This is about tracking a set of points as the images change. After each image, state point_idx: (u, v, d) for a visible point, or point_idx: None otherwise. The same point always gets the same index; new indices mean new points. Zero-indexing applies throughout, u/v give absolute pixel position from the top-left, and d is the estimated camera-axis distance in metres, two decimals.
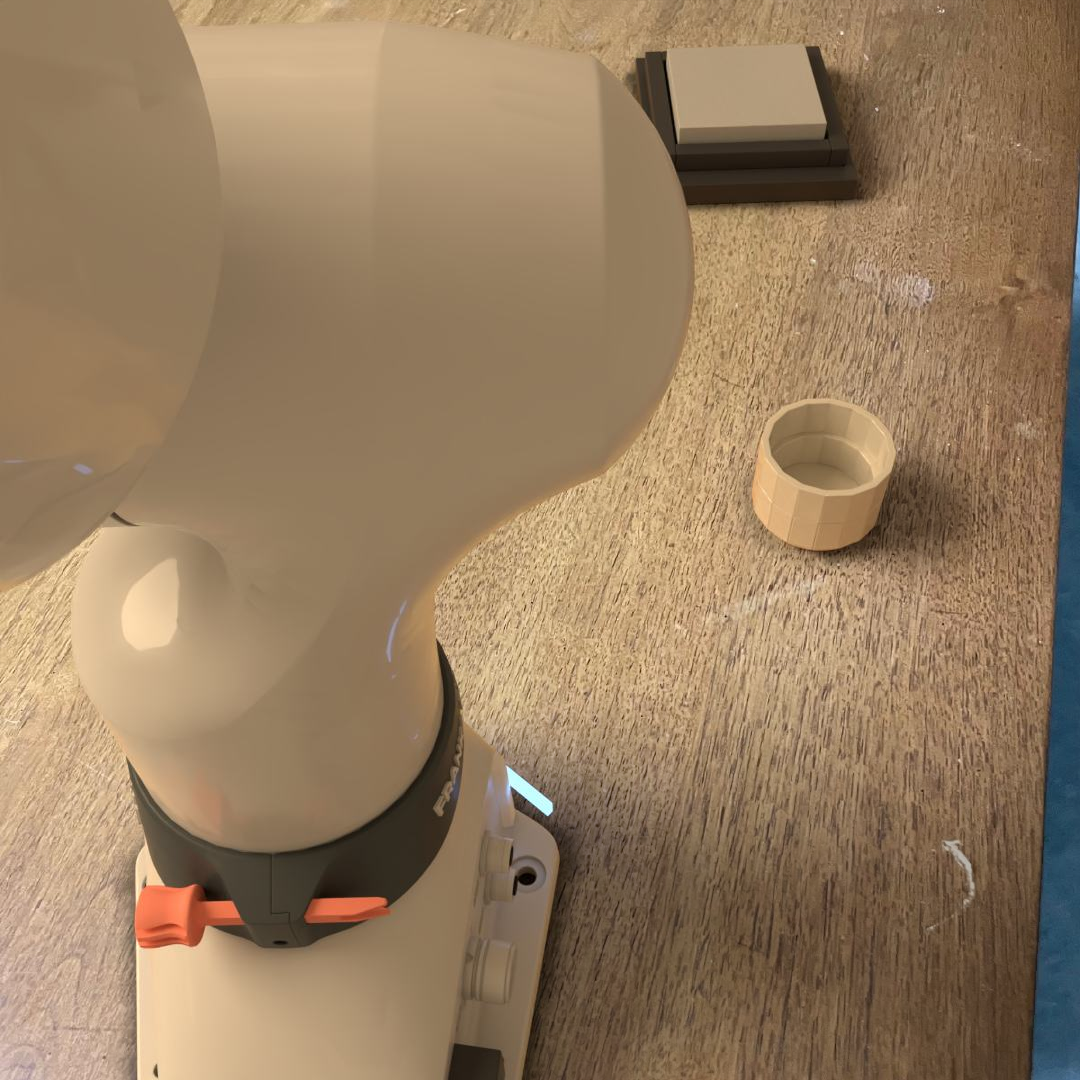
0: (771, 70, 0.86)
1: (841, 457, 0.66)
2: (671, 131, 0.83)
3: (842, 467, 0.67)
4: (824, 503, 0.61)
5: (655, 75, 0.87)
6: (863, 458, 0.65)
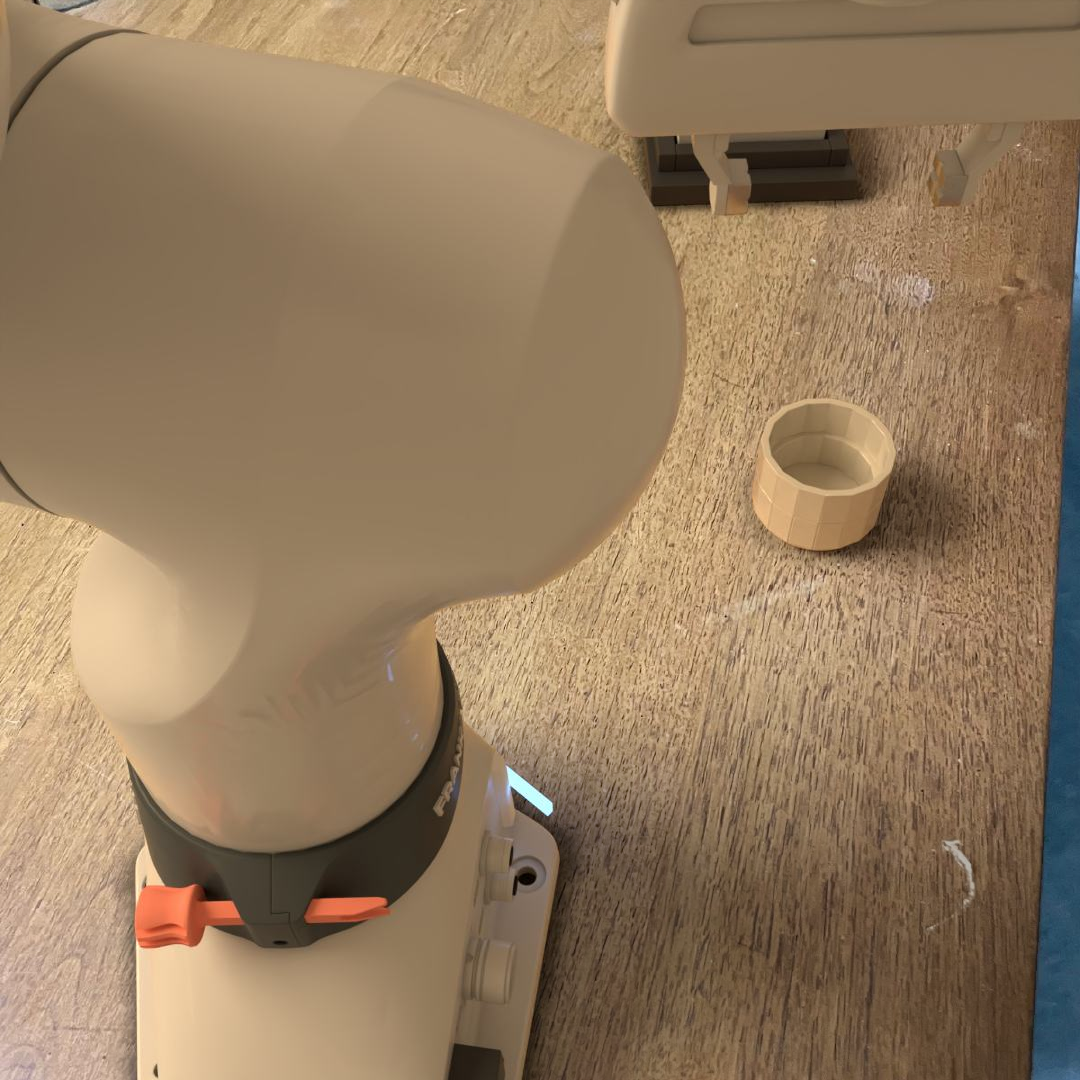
0: None
1: (841, 457, 0.66)
2: None
3: (842, 467, 0.67)
4: (824, 503, 0.61)
5: None
6: (863, 458, 0.65)
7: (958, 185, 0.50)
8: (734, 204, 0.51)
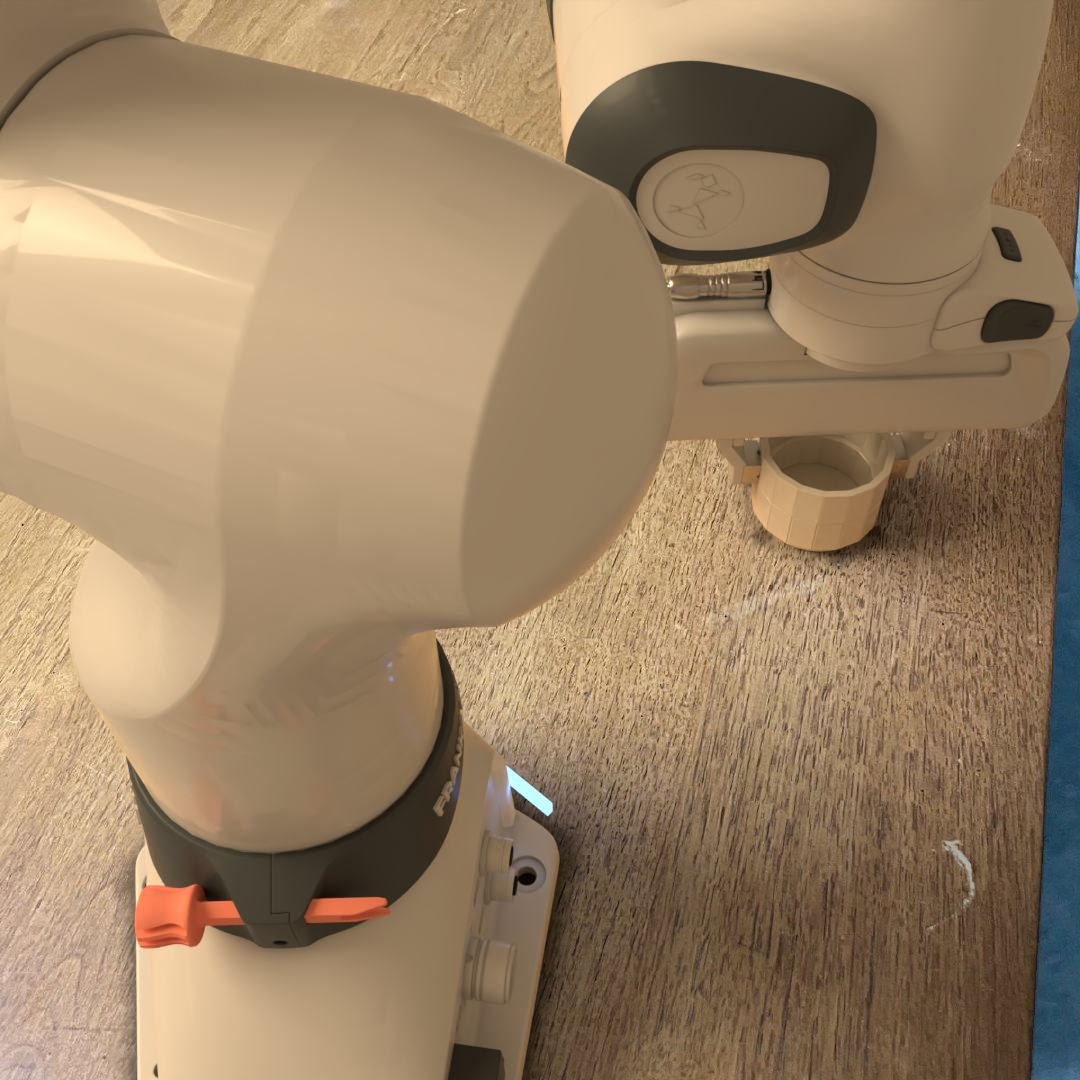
0: None
1: (840, 458, 0.66)
2: None
3: (841, 468, 0.67)
4: (823, 504, 0.61)
5: None
6: (862, 459, 0.65)
7: (902, 466, 0.63)
8: (748, 478, 0.63)
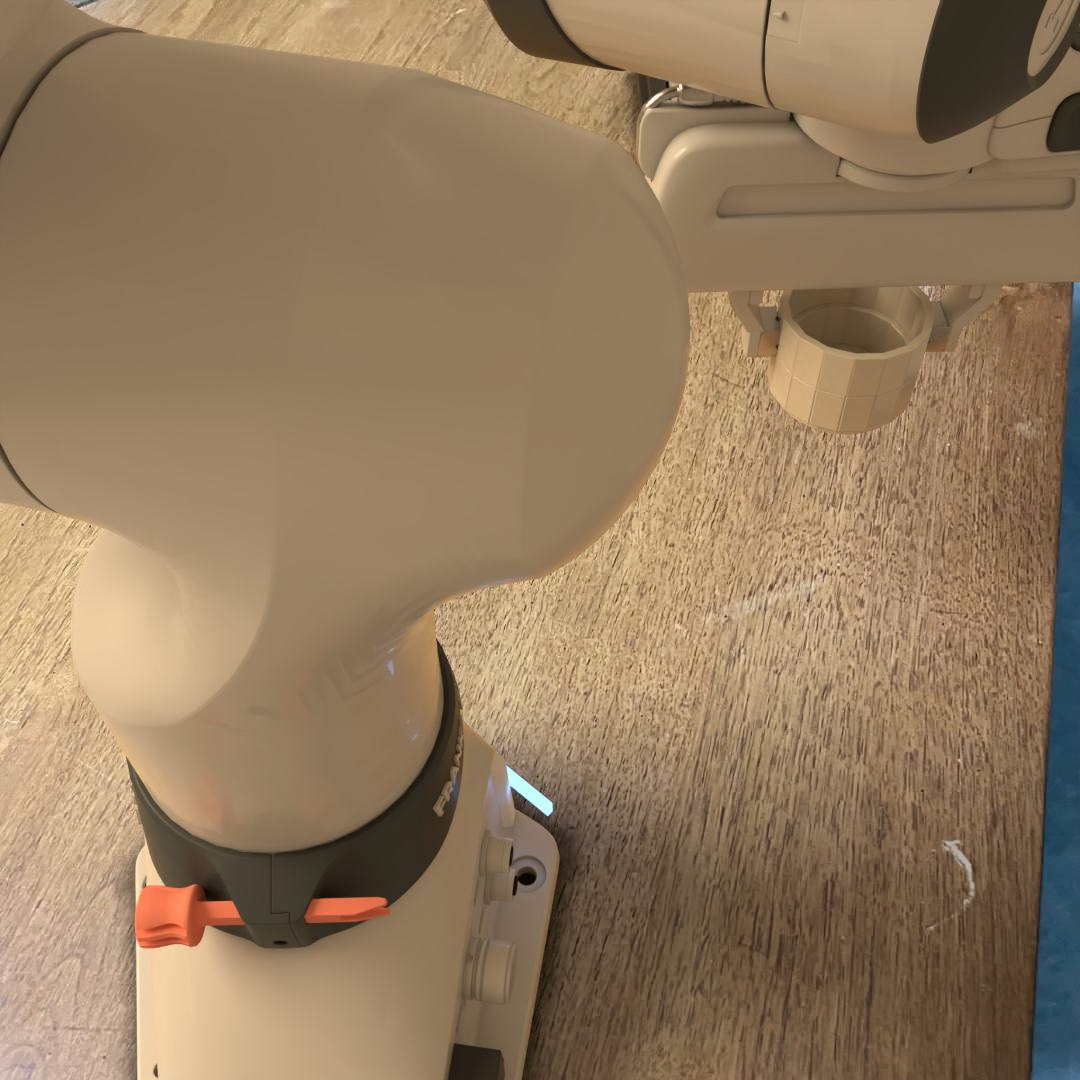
0: None
1: (869, 334, 0.58)
2: None
3: (869, 346, 0.59)
4: (853, 370, 0.53)
5: None
6: (895, 331, 0.57)
7: (942, 334, 0.55)
8: (765, 348, 0.55)
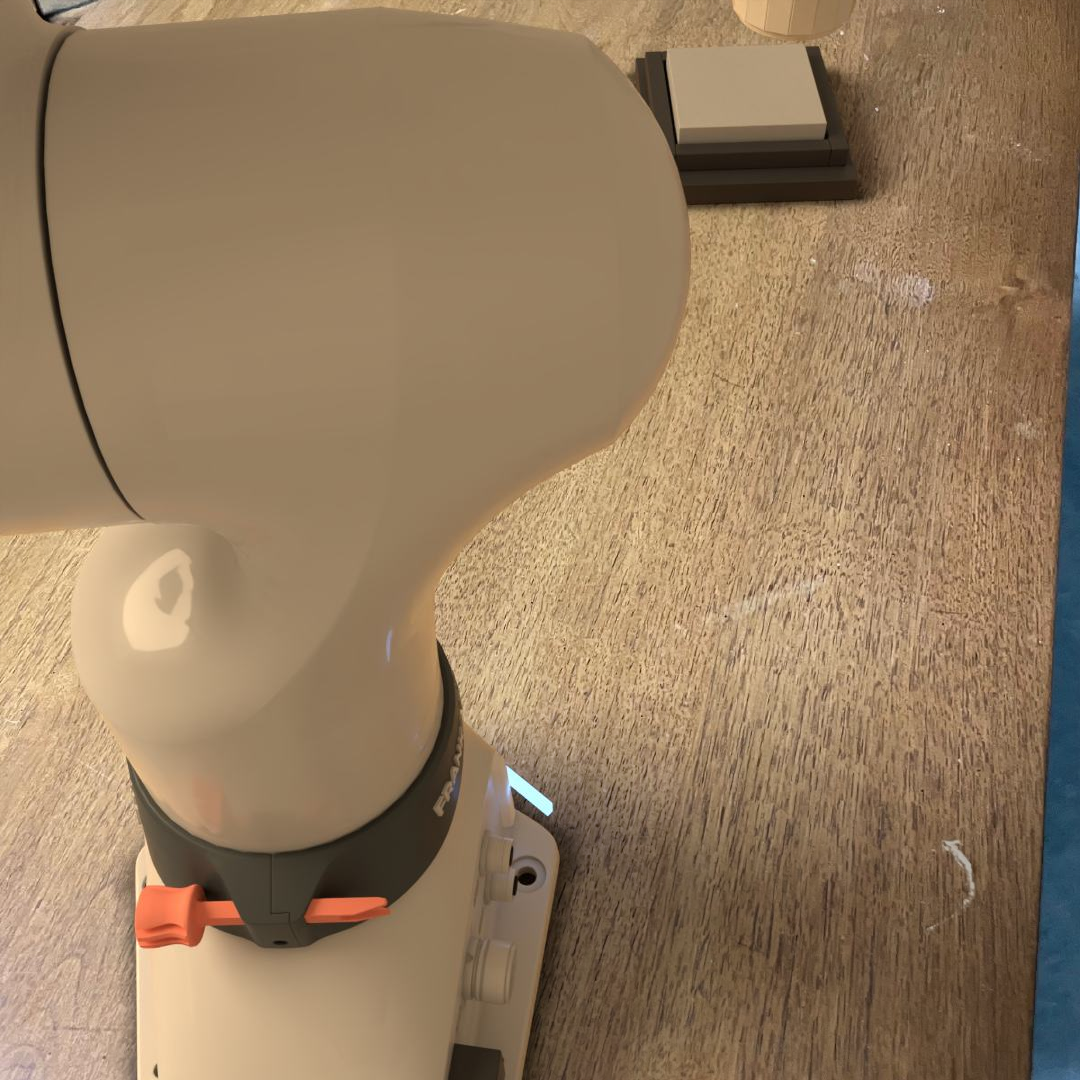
0: (771, 70, 0.86)
1: None
2: (671, 131, 0.83)
3: None
4: None
5: (655, 75, 0.87)
6: None
7: None
8: None
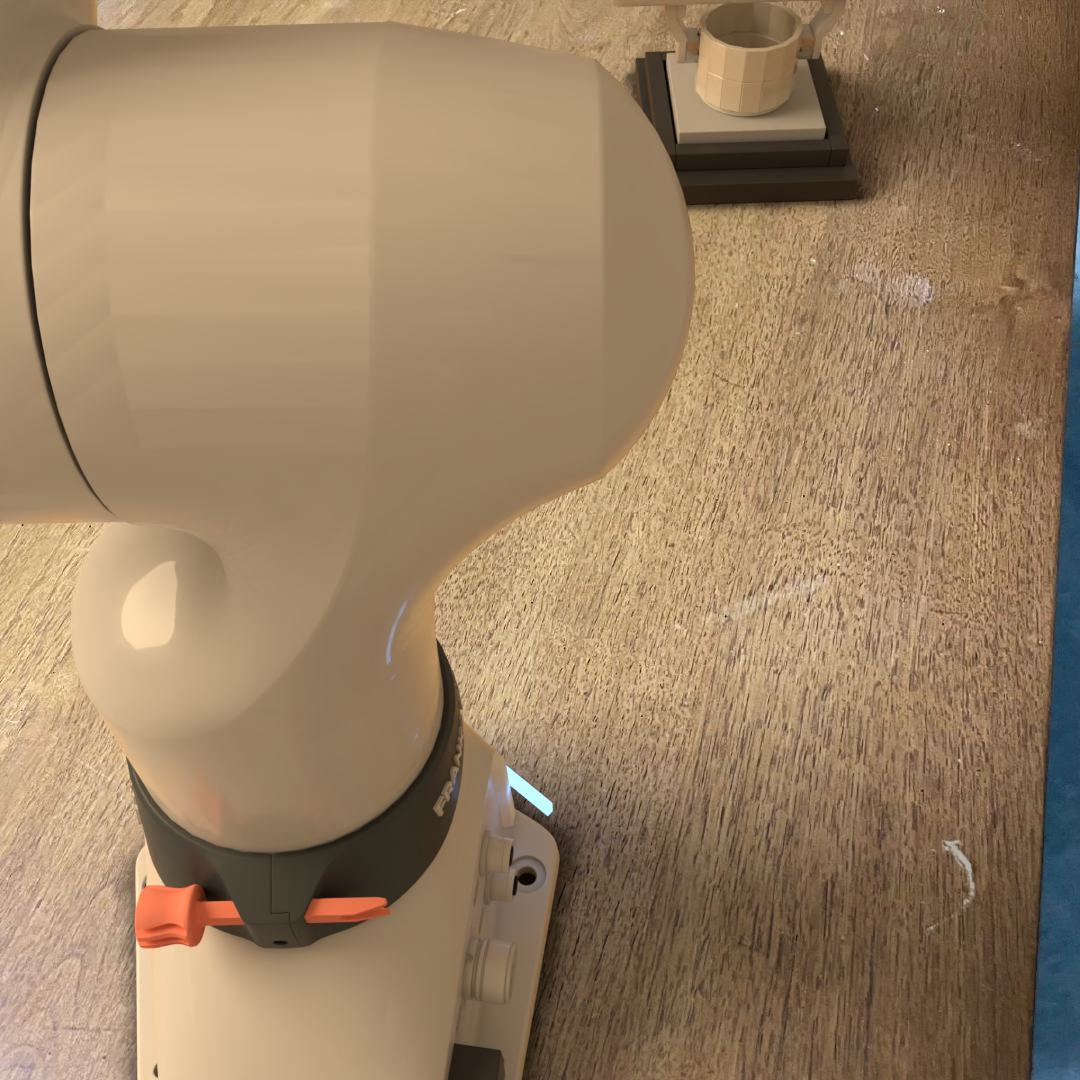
0: None
1: None
2: (671, 131, 0.83)
3: None
4: (745, 60, 0.79)
5: (655, 75, 0.87)
6: None
7: (809, 44, 0.81)
8: (690, 55, 0.82)
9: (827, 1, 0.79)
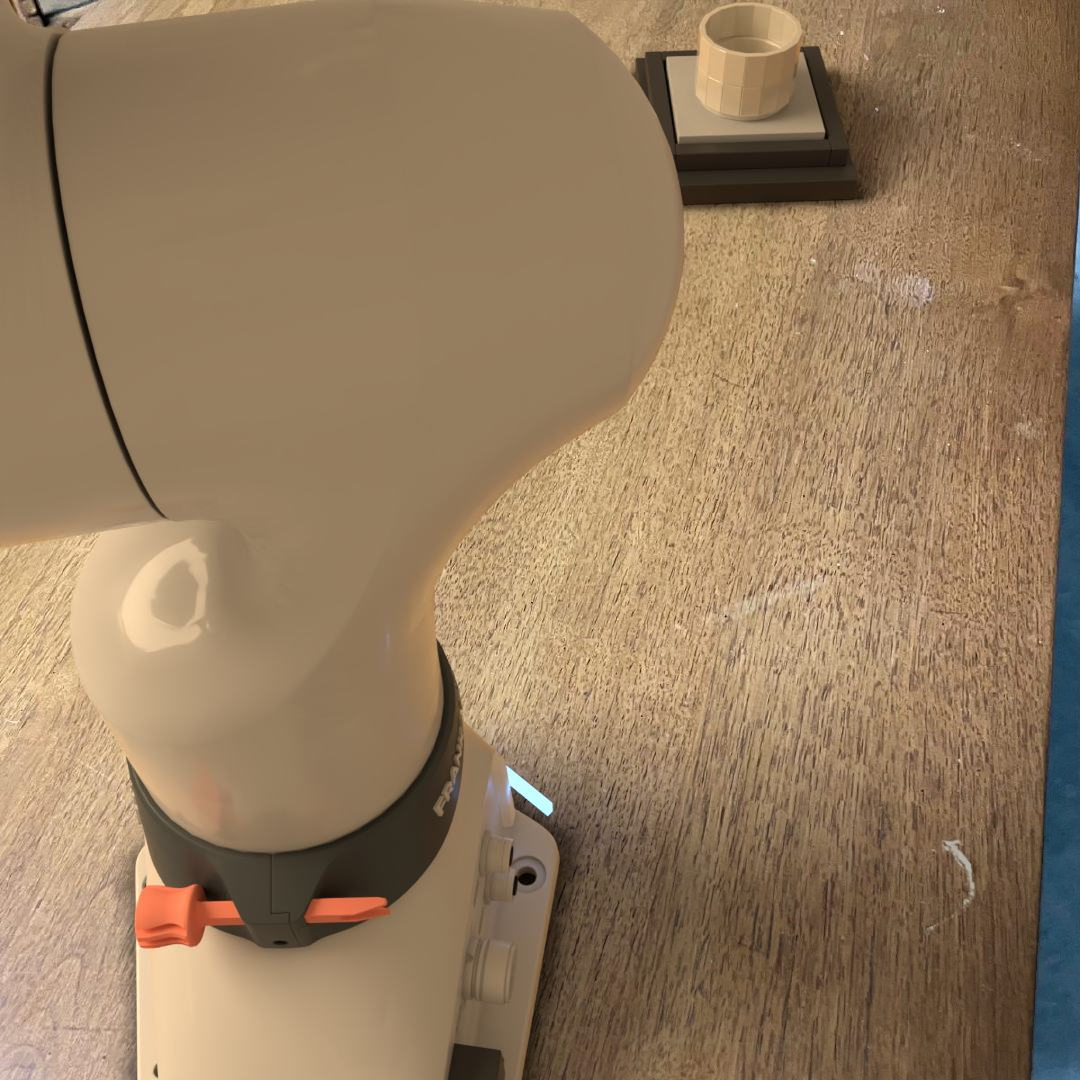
0: None
1: None
2: (671, 131, 0.83)
3: None
4: (745, 65, 0.79)
5: (655, 75, 0.87)
6: None
7: None
8: None
9: None
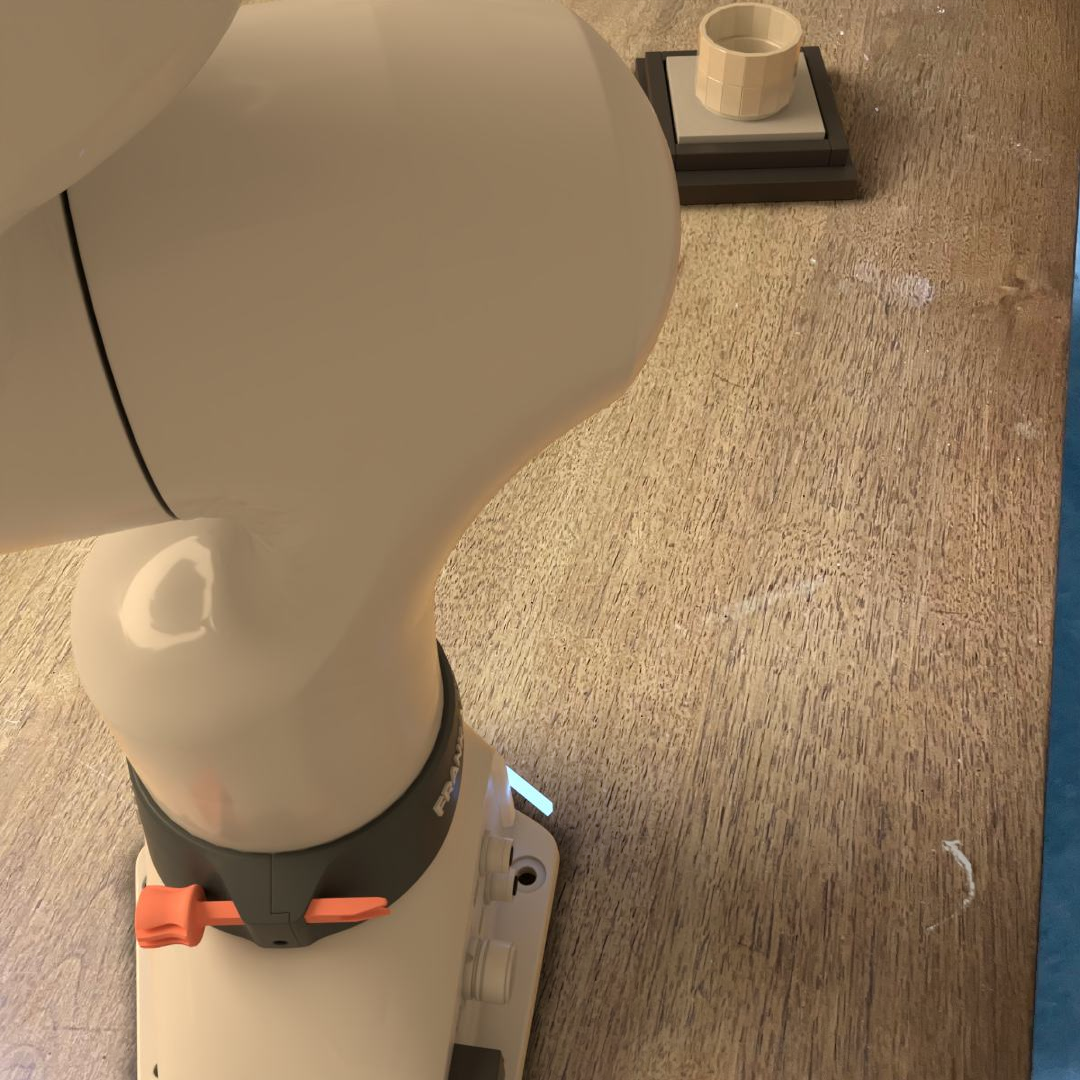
0: None
1: None
2: (671, 131, 0.83)
3: None
4: (745, 65, 0.79)
5: (655, 75, 0.87)
6: None
7: None
8: None
9: None
